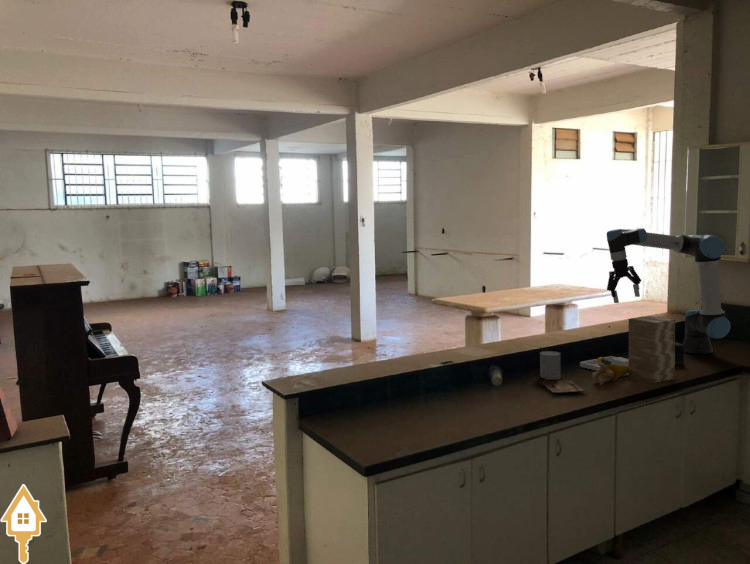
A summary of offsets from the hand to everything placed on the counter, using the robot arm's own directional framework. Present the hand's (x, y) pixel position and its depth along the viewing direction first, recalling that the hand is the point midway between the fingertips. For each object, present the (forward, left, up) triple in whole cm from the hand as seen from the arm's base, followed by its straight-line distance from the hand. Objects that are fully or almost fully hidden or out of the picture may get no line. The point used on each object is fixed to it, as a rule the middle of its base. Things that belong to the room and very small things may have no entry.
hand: (627, 299), depth 310 cm
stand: (+15, +27, -33) cm, 45 cm away
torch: (+33, +21, -33) cm, 51 cm away
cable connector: (+15, +5, -33) cm, 36 cm away
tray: (+15, +5, -33) cm, 37 cm away
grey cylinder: (+53, +1, -33) cm, 62 cm away
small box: (-17, +14, -33) cm, 40 cm away
